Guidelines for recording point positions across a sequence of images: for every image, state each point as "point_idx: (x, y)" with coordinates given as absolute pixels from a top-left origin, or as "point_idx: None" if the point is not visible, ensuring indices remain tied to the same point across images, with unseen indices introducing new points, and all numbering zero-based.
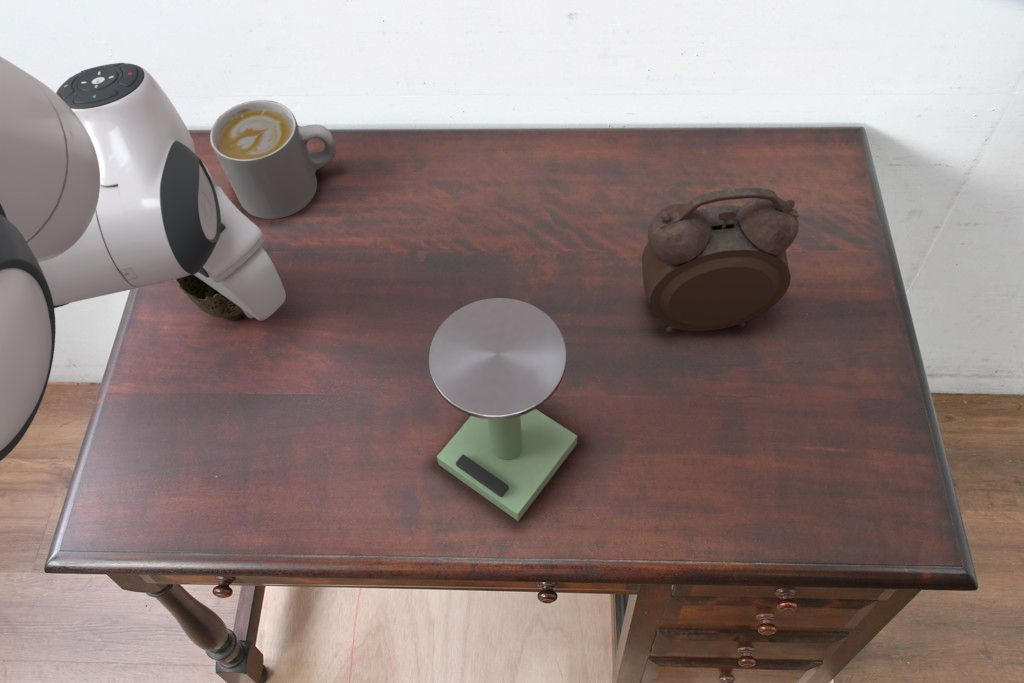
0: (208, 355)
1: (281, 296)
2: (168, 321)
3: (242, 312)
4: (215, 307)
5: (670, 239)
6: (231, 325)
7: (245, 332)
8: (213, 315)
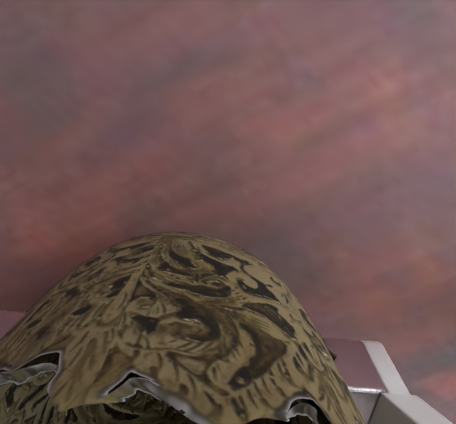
0: (127, 67)
1: None
2: (394, 116)
3: (5, 319)
4: (25, 318)
5: None
6: (153, 219)
7: (86, 221)
8: (125, 242)
